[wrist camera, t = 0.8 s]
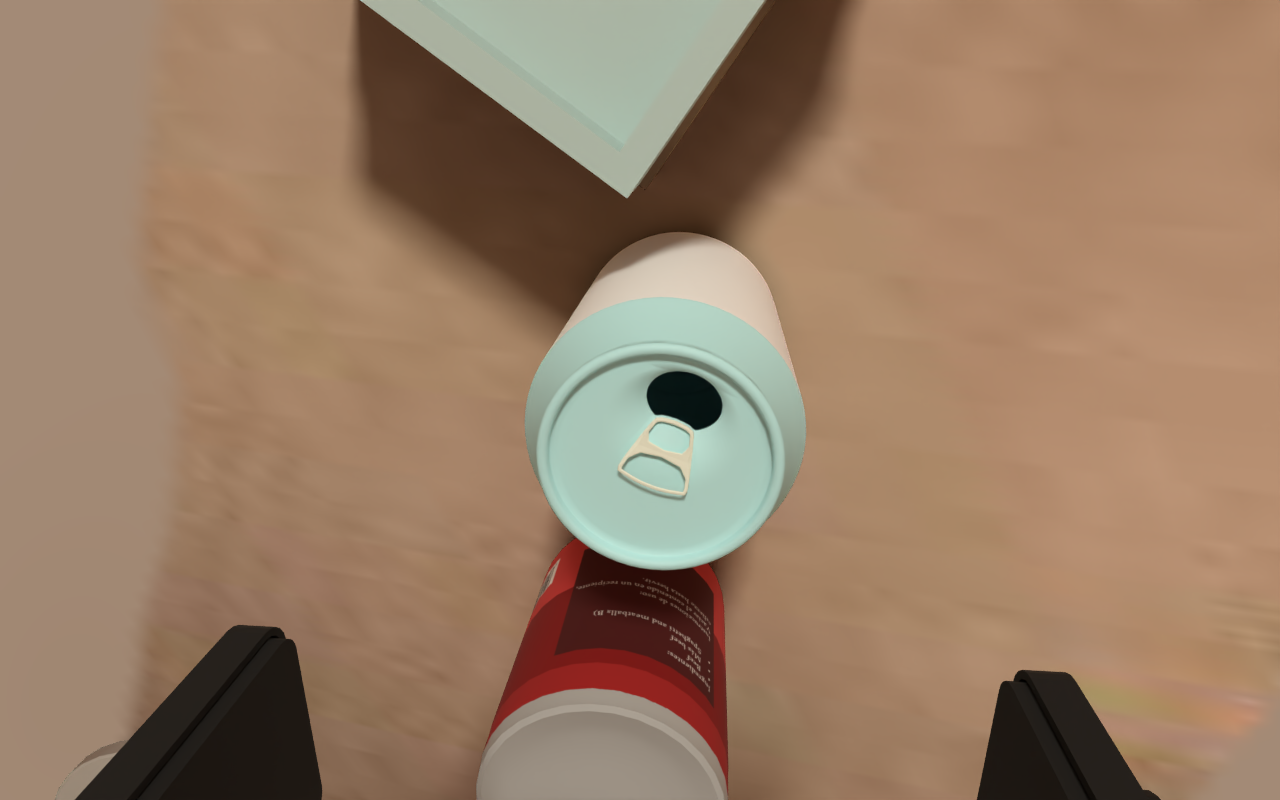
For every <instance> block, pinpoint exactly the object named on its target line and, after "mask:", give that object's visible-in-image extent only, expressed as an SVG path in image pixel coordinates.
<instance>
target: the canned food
mask: <svg viewBox="0 0 1280 800" xmlns="http://www.w3.org/2000/svg"><path fill="white" fill-rule="evenodd" d="M476 793H477V800H728V740H727V701H726V663H725V624H724V604H723V597H722V591H721V589H720V586H719V583H718V580H717V578H716V576H715V574H714V572H713V570H712V569H711V567H710V565H709V564H708V563H707V564H703V565H700V566H696V567H691V568H686V569H678V570H650V569H644V568H638V567H633V566H629V565H626V564H623V563H619V562H616V561H614V560H612V559H609V558H607V557H605V556H603V555H601V554H599V553H597V552H595V551H594V550H592V549H591V548H589V547H588V546H586V545H585V544H584V543H582V542H581V541H580V540H578V539H577V538H575V539H574V540H572V541H571V542H570V543H569V544H568V545H567V546H565V547H564V548H563V549H562V550H561V551H560V553H559V554H558V555H557V557H556V558H555V559H554V560H553V562H552V563H551V566H550V568H549V570H548V572H547V574H546V576H545V579H544V582H543V584H542V587H541V590H540V593H539V596H538V598H537V601H536V604H535V607H534V609H533V612H532V615H531V618H530V621H529V623H528V626H527V629H526V632H525V634H524V637H523V640H522V643H521V646H520V648H519V651H518V654H517V657H516V659H515V662H514V665H513V668H512V671H511V673H510V676H509V679H508V682H507V684H506V687H505V690H504V693H503V696H502V698H501V701H500V704H499V707H498V709H497V712H496V715H495V718H494V721H493V723H492V726H491V730H490V734H489V737H488V740H487V742H486V745H485V748H484V751H483V755H482V760H481V765H480V770H479V775H478V780H477V784H476Z"/></svg>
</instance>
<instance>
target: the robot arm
mask: <svg viewBox="0 0 1280 800" xmlns="http://www.w3.org/2000/svg"><path fill="white" fill-rule="evenodd" d="M321 799H322V784H321V779H320V773H319V768H318V763H317V757H316V752H315V746H314V741H313V736H312V730H311V725H310V719H309V714H308V709H307V703H306V698H305V692H304V687H303V681H302V676H301V671H300V665H299V660H298V654H297V649H296V646H295V643H294V642H293V640H291V639H286V638H285V635H284V632H283V631H282V630H281V629H280V628H277V627H265V626H248V625H237V626H234V627H232V628H231V629H230V630H228V631H227V632H226V633H225V634H224V636H223V637H222V638H221V639H220V640H219V641H218V642H217V643H216V644H215V645H214V647H213V648H212V649H211V650H210V651H209V652H208V653H207V654H206V655H205V657H204V658H203V659H202V660H201V661H200V662H199V663H198V664H197V665H196V666H195V668H194V669H193V670H192V671H191V672H190V673H189V674H188V675H187V676H186V677H185V679H184V680H183V681H182V682H181V683H180V684H179V685H178V686H177V687H176V688H175V690H174V691H173V692H172V693H171V694H170V695H169V696H168V697H167V698H166V700H165V701H164V702H163V703H162V704H161V705H160V706H159V707H158V708H157V709H156V711H155V712H154V713H153V714H152V715H151V716H150V717H149V718H148V719H147V720H146V722H145V723H144V724H143V725H142V726H141V727H140V728H139V729H138V730H137V731H136V733H135V734H134V735H133V736H132V737H131V738H130V739H129V740H127V741H120V742H117V743H114V744H111V745H108V746H105V747H102V748H100V749H99V750H97V751H95V752H94V753H92V754H90V755H89V756H87V757H86V758H85V759H84V760H83V761H82V762H81V763H80V764H79V765H78V766H77V767H76V768H75V769H74V770H73V771H72V772H71V773H70V774H69V775H68V776H67V777H66V779H65V780H64V782H63V783H62V785H61V786H60V787H59V789H58V792H57V795H56V798H55V800H321ZM977 800H1161V799H1160V798H1159V797H1158V796H1157V795H1155V794H1154V793H1152V792H1151V791H1149V790H1143V789H1142V788H1141V786H1140V785H1139V783H1138V781H1137V780H1136V778H1135V776H1134V775H1133V773H1132V772H1131V770H1130V768H1129V767H1128V765H1127V763H1126V762H1125V760H1124V759H1123V757H1122V755H1121V754H1120V752H1119V751H1118V749H1117V747H1116V746H1115V744H1114V742H1113V741H1112V739H1111V738H1110V736H1109V734H1108V733H1107V731H1106V729H1105V728H1104V726H1103V725H1102V723H1101V721H1100V720H1099V718H1098V717H1097V715H1096V713H1095V712H1094V710H1093V708H1092V707H1091V705H1090V704H1089V702H1088V700H1087V699H1086V697H1085V695H1084V694H1083V692H1082V691H1081V689H1080V687H1079V686H1078V684H1077V683H1076V681H1075V680H1074V678H1073V677H1072V676H1071V675H1070V674H1068V673H1066V672H1049V671H1032V670H1020V671H1018V672H1017V674H1016V675H1015V678H1014V681H1004V682H1003V683H1002V684H1001V686H1000V689H999V694H998V698H997V703H996V708H995V713H994V718H993V723H992V728H991V733H990V738H989V743H988V748H987V753H986V758H985V763H984V768H983V773H982V778H981V782H980V787H979V792H978V797H977Z"/></svg>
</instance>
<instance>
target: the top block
mask: <svg viewBox="0 0 1280 800" xmlns="http://www.w3.org/2000/svg"><path fill="white" fill-rule="evenodd" d="M360 1H362V2H363V3H364V4H366V5H367V6H368V7H370V8H371V9H373V10H374V11H375V12H377V13H378V14H379V15H381V16H382V17H383V18H385V19H386V20H387V21H389V22H390V23H391V24H393V25H394V26H395V27H397V28H398V29H399V30H401V31H402V32H403V33H405V34H406V35H408V36H409V37H410V38H412V39H413V40H414V41H416V42H417V43H418V44H420V45H421V46H422V47H424V48H425V49H426V50H428V51H429V52H430V53H432V54H433V55H434V56H436V57H437V58H438V59H440V60H441V61H443V62H444V63H445V64H447V65H448V66H449V67H451V68H452V69H453V70H455V71H456V72H457V73H459V74H460V75H461V76H463V77H464V78H465V79H467V80H468V81H469V82H471V83H472V84H473V85H475V86H476V87H478V88H479V89H480V90H482V91H483V92H484V93H486V94H487V95H488V96H490V97H491V98H492V99H494V100H495V101H496V102H498V103H499V104H500V105H502V106H503V107H504V108H506V109H507V110H508V111H510V112H511V113H513V114H514V115H515V116H517V117H518V118H519V119H521V120H522V121H523V122H525V123H526V124H527V125H529V126H530V127H531V128H533V129H534V130H535V131H537V132H538V133H539V134H541V135H542V136H543V137H545V138H546V139H548V140H549V141H550V142H552V143H553V144H554V145H556V146H557V147H558V148H560V149H561V150H562V151H564V152H565V153H566V154H568V155H569V156H570V157H572V158H573V159H574V160H576V161H577V162H579V163H580V164H581V165H583V166H584V167H585V168H587V169H588V170H589V171H591V172H592V173H593V174H595V175H596V176H597V177H599V178H600V179H601V180H603V181H604V182H605V183H607V184H608V185H609V186H611V187H612V188H614V189H615V190H616V191H618V192H619V193H620V194H622V195H623V196H624V197H626V198H628V197H629V196H630V194H631V193H632V192H633V191H634V190H635V189H636V187H637V186H638V185H639V184H640V182H641V181H642V179H643V178H644V177H645V175H646V174H647V172H648V171H649V169H650V168H651V166H652V165H653V164H654V162H655V161H656V159H657V158H658V156H659V155H660V153H661V152H662V151H663V149H664V148H665V146H666V145H667V143H668V142H669V141H670V139H671V138H672V136H673V135H674V133H675V132H676V130H677V129H678V128H679V126H680V125H681V123H682V122H683V120H684V119H685V117H686V116H687V115H688V113H689V112H690V110H691V109H692V107H693V106H694V105H695V103H696V102H697V100H698V99H699V97H700V96H701V94H702V93H703V92H704V90H705V89H706V87H707V86H708V84H709V83H710V81H711V80H712V79H713V77H714V76H715V74H716V73H717V71H718V70H719V69H720V67H721V66H722V64H723V63H724V61H725V60H726V58H727V57H728V56H729V54H730V53H731V51H732V50H733V48H734V47H735V45H736V44H737V43H738V41H739V40H740V38H741V37H742V35H743V34H744V32H745V31H746V30H747V28H748V27H749V25H750V24H751V22H752V21H753V20H754V18H755V17H756V15H757V14H758V12H759V11H760V9H761V8H762V7H763V5H764V4H765V2H766V1H767V0H360Z"/></svg>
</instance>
